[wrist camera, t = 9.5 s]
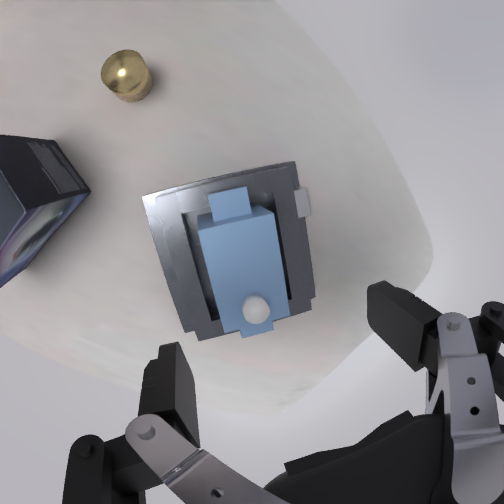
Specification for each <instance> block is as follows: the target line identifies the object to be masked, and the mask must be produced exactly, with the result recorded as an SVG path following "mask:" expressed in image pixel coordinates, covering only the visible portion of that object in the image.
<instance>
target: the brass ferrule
mask: <svg viewBox="0 0 504 504" xmlns="http://www.w3.org/2000/svg"><path fill="white" fill-rule="evenodd" d="M101 79H102V81H103V83H104V84H105V85H106V86H107V87H108V88H109V89H110V90H111V91H112V92H113V93H114V94H116V95H117V96H118V97H119V98H120V99H121V100H123V101H125V102H136V101H139V100H141V99H142V98H144V97H145V96H146V95H147V94H148V93H149V91H150V89H151V87H152V77H151V75H150V73H149V71H148V69H147V66H146V64H145V62H144V60H143V58H142V56H141V55H140V54H139V53H138V52H136V51H134V50H121V51H118V52H116V53H114V54H113V55H111V56H110V57H109V58H108V59H107V60H106V61H105V63H104V65H103V67H102V70H101Z"/></svg>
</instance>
